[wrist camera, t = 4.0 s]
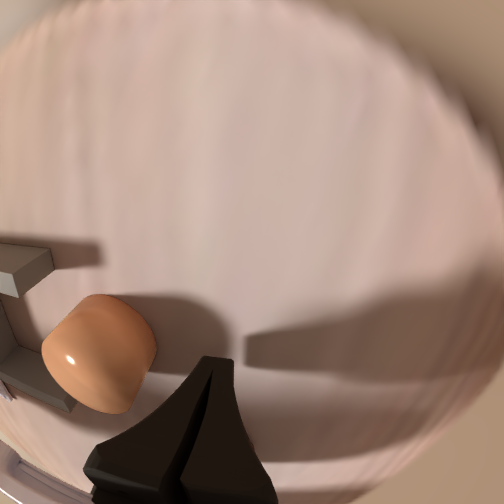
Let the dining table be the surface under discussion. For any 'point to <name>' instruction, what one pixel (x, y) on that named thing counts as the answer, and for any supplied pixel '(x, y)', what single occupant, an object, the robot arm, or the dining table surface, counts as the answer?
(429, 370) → the dining table surface
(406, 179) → the dining table surface
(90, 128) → the dining table surface
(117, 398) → the tan rounded knob
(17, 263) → the dock
